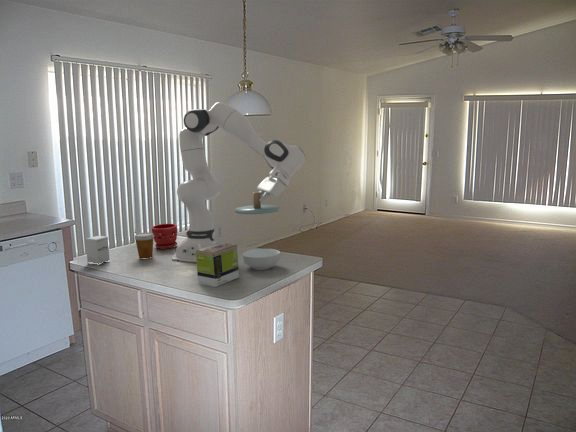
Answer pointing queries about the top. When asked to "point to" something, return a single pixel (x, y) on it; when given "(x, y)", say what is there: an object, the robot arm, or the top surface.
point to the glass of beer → (144, 244)
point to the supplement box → (97, 249)
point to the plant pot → (165, 235)
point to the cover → (257, 207)
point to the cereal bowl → (261, 258)
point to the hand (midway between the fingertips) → (258, 200)
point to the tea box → (217, 264)
